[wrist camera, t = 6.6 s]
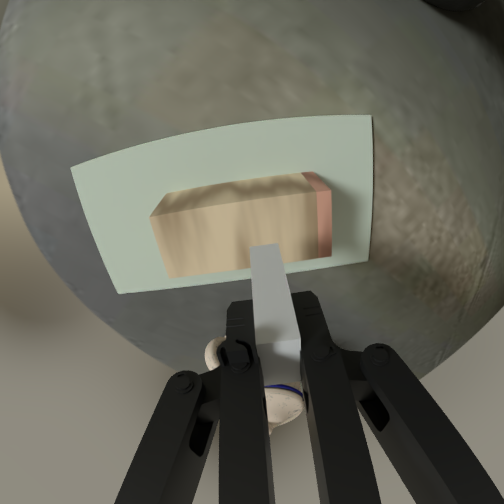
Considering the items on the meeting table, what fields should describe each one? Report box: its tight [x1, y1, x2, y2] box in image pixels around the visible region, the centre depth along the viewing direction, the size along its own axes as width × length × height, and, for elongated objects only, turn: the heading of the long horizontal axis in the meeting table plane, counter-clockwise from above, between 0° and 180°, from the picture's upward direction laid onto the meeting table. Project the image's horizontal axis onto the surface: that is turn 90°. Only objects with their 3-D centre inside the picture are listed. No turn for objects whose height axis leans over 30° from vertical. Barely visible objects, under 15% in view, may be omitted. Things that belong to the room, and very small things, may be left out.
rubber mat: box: [71, 115, 373, 294], centre depth 23 cm, size 26×14×1 cm, turn 98°
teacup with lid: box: [205, 336, 304, 435], centre depth 26 cm, size 12×9×12 cm
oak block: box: [149, 171, 332, 279], centre depth 21 cm, size 5×5×12 cm
